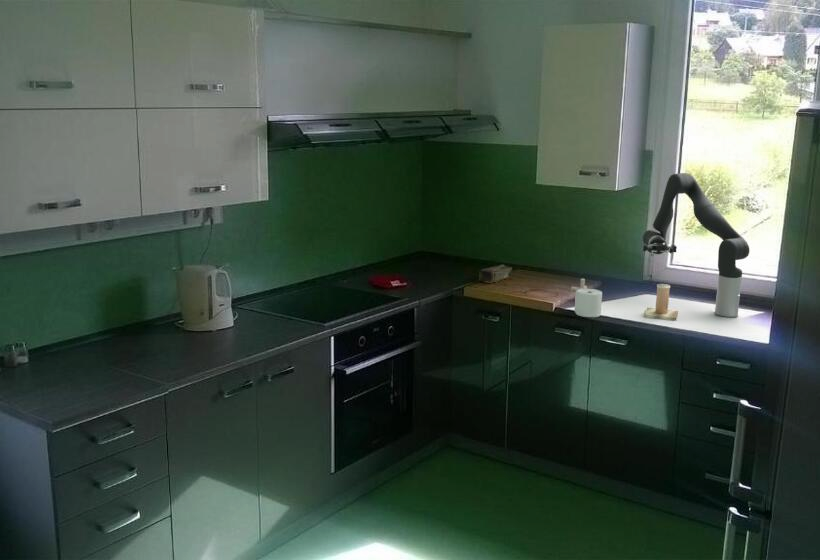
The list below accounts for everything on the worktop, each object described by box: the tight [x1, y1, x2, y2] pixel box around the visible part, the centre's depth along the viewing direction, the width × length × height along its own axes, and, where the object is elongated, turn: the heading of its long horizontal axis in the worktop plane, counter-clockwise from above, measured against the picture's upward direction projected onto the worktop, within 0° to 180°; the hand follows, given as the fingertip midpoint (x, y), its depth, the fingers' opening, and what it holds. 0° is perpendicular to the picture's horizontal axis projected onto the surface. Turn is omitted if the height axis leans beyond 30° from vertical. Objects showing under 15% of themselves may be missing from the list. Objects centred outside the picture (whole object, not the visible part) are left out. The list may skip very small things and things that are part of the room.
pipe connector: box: [570, 278, 588, 292], centre depth 371 cm, size 10×10×10 cm
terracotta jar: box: [655, 283, 671, 314], centre depth 348 cm, size 5×5×12 cm
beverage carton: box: [478, 264, 513, 282], centre depth 408 cm, size 8×19×7 cm, turn 140°
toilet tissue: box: [574, 288, 603, 318], centre depth 349 cm, size 11×12×10 cm
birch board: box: [643, 307, 679, 321], centre depth 349 cm, size 13×12×1 cm
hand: (660, 250), depth 357 cm, fingers open, 8 cm apart
